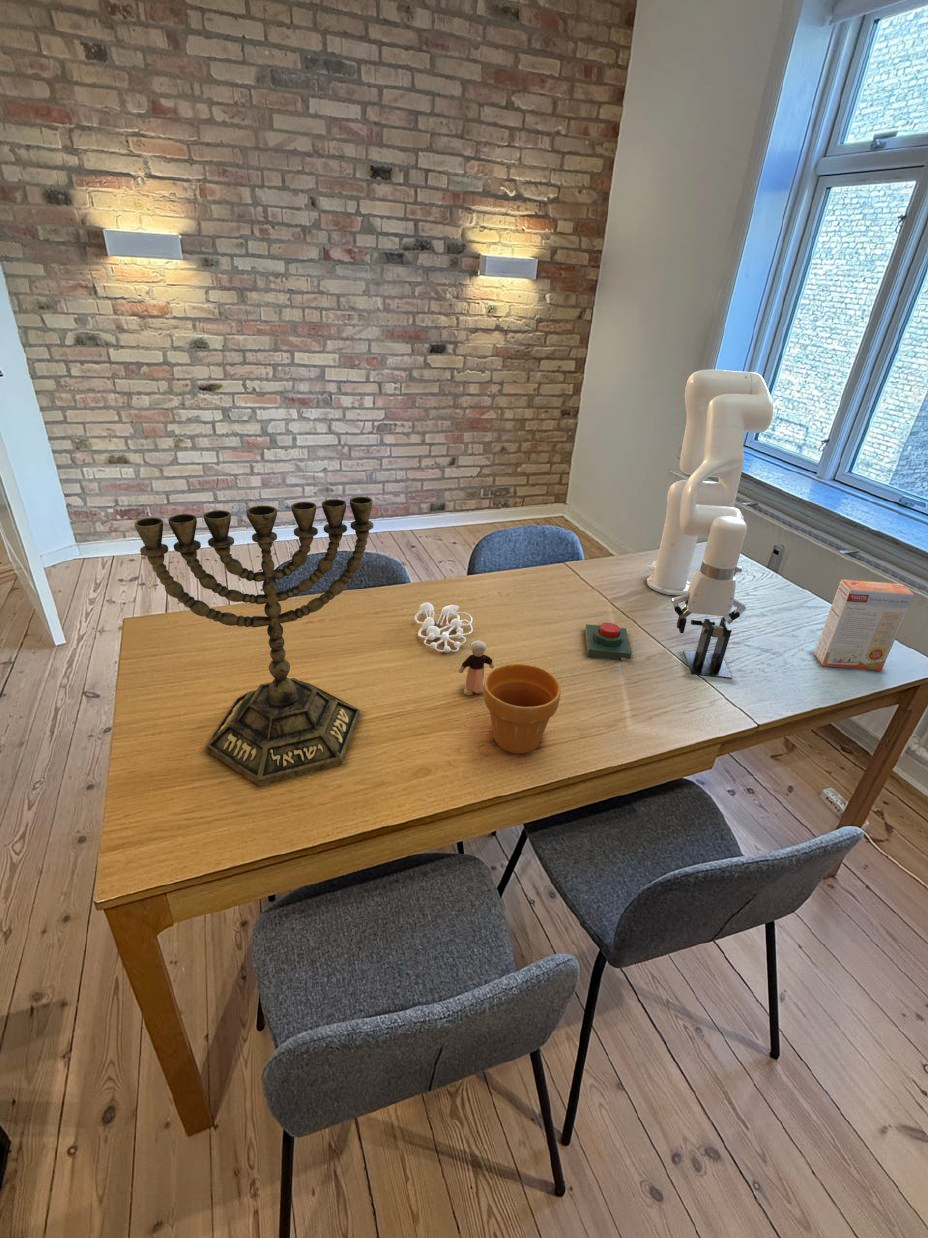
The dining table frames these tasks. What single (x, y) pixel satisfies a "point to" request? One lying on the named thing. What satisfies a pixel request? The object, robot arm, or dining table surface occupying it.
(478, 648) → the grandmother figurine
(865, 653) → the cracker box
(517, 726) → the flower pot
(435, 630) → the tangled rod sculpture
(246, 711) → the menorah
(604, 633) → the red button
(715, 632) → the switch lever
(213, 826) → the dining table surface
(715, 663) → the switch bracket
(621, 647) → the button box
